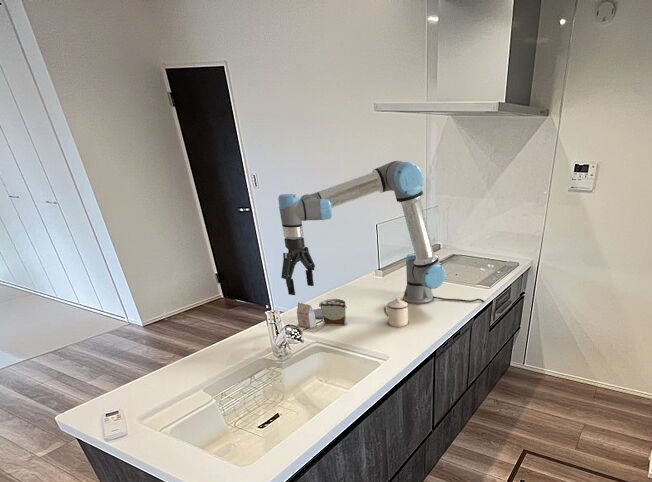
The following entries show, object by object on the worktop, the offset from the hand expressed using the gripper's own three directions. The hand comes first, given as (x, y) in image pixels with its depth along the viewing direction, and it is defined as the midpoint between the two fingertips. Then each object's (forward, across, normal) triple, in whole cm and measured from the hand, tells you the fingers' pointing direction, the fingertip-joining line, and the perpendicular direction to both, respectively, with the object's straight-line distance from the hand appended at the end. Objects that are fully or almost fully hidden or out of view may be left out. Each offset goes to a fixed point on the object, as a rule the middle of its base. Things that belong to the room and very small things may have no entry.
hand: (301, 290), depth 181 cm
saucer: (+16, -14, -2) cm, 21 cm away
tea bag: (+16, 0, 0) cm, 16 cm away
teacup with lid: (+16, -17, +35) cm, 42 cm away
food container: (+16, -8, +10) cm, 21 cm away
